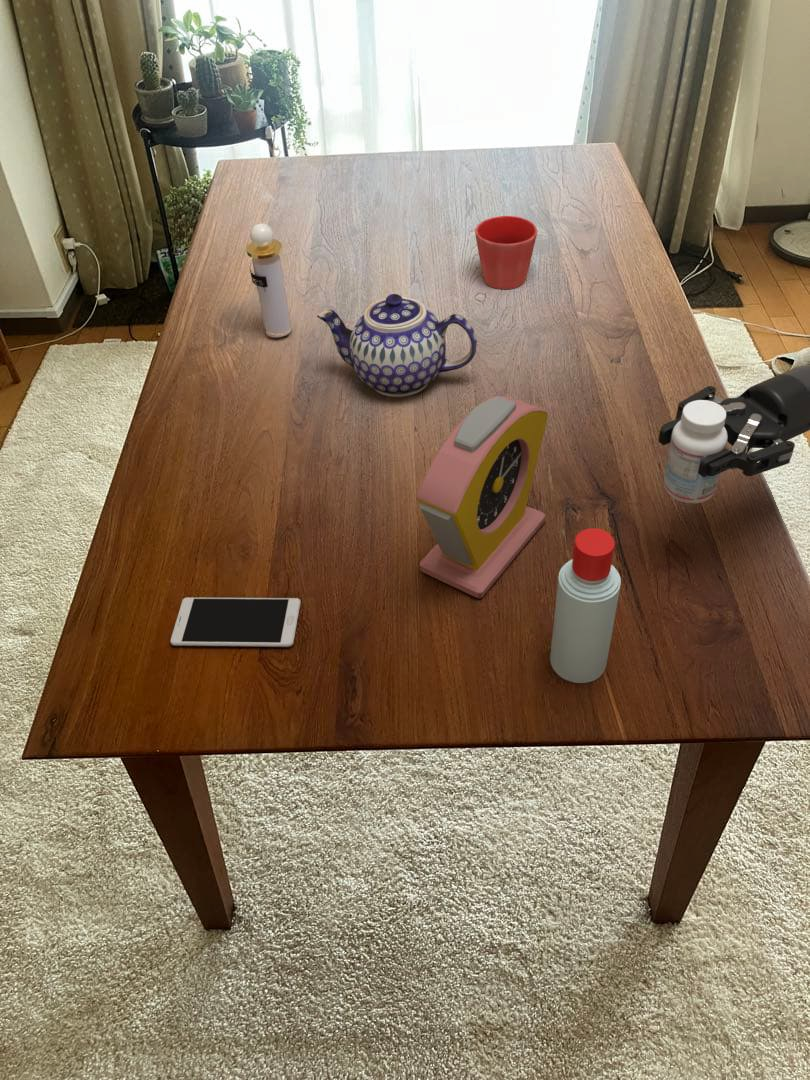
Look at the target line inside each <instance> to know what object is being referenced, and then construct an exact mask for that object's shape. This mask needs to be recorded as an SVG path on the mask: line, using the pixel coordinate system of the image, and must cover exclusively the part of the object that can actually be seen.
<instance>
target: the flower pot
mask: <svg viewBox="0 0 810 1080" xmlns="http://www.w3.org/2000/svg"><path fill="white" fill-rule="evenodd" d="M474 234H475V241H476V247H477V251H478V252H477V253H478V257H479V262H480V268H481V272H482V277H483V281H484V282H485V284H486V285H487V286H489V287H491V288H494V289H497V290H502V289H503V290H512V289H516V288H518V287H521V286H522V285H524V283H525V282H526V280H527V277H528V273H529V269H530V266H531V261H532V257H533V252H534V248H535V244H536V239H537V236H538V229H537V225H535V224H534V223H533V222H532V221H531V220H529V219H527V218H524V217H522V216H521V217H520V216H515V215H499V216H493V217H489V218H486V219H485V220H483V221H481V222H480V223H478V224H477V225H476V227H475V229H474Z"/></svg>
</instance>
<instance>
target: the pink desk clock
mask: <svg viewBox="0 0 810 1080" xmlns="http://www.w3.org/2000/svg"><path fill="white" fill-rule="evenodd" d="M548 418H549V411H548V410H547V409H545V408H542V407H540V406H539V407H538V406H537V405H533V404H532V403H531V404H530V403H527V402H525V401H522V400H519V399H517V398H514V397H510V396H508V395H494V396H492V397H490V398H488V399H486V400H483V401H482V402H480V403H479V404H478V405H476V406H475V407H473V409H471V410H470V411H469V412H468V413H467V414H466V415H464V417H463V418H462V419H461V420H460V422H458V423H457V425H456V426H455V427H454V428H453V429H452V430H451V431H450V433H449V435H448V436H447V438H446V439H445V440H444V442H443V443H442V445H441V446H440V448H439V449H438V451H437V452H436V455H434V456H435V457H434V458H433V460H432V462H431V464H430V466H429V468H428V470H427V471H426V473H425V475H424V477H423V481H422V482H421V485H420V486H419V489H418V491H417V494H416V500H417V503H418V505H419V507H420V510H421V513H422V515H423V516H424V519H425V520H426V523H427V524H428V527H429V528H430V532H432V534H433V537H434V539H435V541H436V544H435V545H434V546H433V548H432V549H431V550H430V551H428V553H427V554H426V555H425V556H424V557H423V558H422V560H420V562H419V570H420V572H421V573H423V574H426V575H428V576H429V577H431V578H434V579H436V580H438V581H440V582H443V583H444V584H447V585H448V586H451V587H453V588H456V589H457V590H460V591H462V592H463V593H465V594H468V595H470V596H471V597H474V598H477V599H482V598H483V597H484V596H485V595H486V594H487V593H488V591H489V590H490V589H491V587H492V586H493V585H494V584H495V583H496V581H498V579H499V578H500V577H501V576H502V574H503V573H504V572H505V571H506V570H507V568H508V567H509V565H510V564H511V563H512V562H513V561H514V559H515V558H516V557H517V556H518V555H519V553H521V551H522V550H523V549H524V547H525V546H526V544H528V543H529V541H530V540H531V539H532V538H533V536H534V535H535V534H536V533H537V531H538V530H539V529H540V528H541V527H542V525H543V524H544V523H545V522H546V514H545V512H542V511H540V510H538V509H535V508H533V507H530V506H528V505H527V504H528V500H529V495H530V493H531V492H530V491H531V488H532V483H533V479H534V476H535V475H534V474H535V472H536V467H537V463H538V460H539V454H540V450H541V446H542V443H543V439H544V434H545V430H546V427H547V422H548Z"/></svg>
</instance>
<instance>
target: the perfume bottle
mask: <svg viewBox="0 0 810 1080" xmlns="http://www.w3.org/2000/svg"><path fill="white" fill-rule="evenodd" d="M249 236H250V237H249V238H250V240H251V242H250V243H248V244H247V245H246V247H245V251H246V254H247V256H248V257H250V258H251V262H252V268H253V271H252V269H251V267H249V273H250V277H251V282H252V284H253V285H255V286H256V289H257V294H258V300H259V304H260V305H259V306H260V311H261V315H262V321H263V325H264V326H263V327H264V331H265V329H266V331H267V332H270V333H273V334H274V333H275V334H278V333H284V332H286V331H288V330H289V329H290V328H291V330H290V331H289V332H288V333H287V334H285V335H281V336H271V335H269V334H267V333H266V331H265V334H266V335H267V336H268V337H272V338H282V337H285V336H287V335H289V334H290V333H291V332H292V322H291V315H290V311H289V309H290V308H289V303H288V297H287V291H286V286H285V285H286V284H285V279H284V273H283V268H282V261H281V255H280V253H281V252H283V245H282V242H281V241H280V240H278V239H275V238H274V232H273V229H272V228H271V226H269V224H266V223H265V222H258V223H256V224H254V225H253V226H252V227H251V229H250V233H249ZM253 272H254V273H253Z"/></svg>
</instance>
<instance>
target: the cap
mask: <svg viewBox="0 0 810 1080" xmlns="http://www.w3.org/2000/svg"><path fill="white" fill-rule="evenodd" d="M573 545H574V546H573V555H572V559H573V562H572V569H573V571H574V573H575V574H576V575H577V576H578V577H579V578H581V579H583V580H586V581H600V580H603V579H604V578H606V577H607V576H608V575H609V573H610V570H611V564H612V563H613V557H614V552H615V551H614V550H615V545H616V544H615V540H614V537H613V536H612V535H611V534H610V533H609V532H607V531H606V530H604V529H600V528H595V527H591V528H585V529H583V530H581V531H580V532H578V533H577V534H576V535H575V538H574V544H573ZM612 565H613V564H612Z"/></svg>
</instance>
